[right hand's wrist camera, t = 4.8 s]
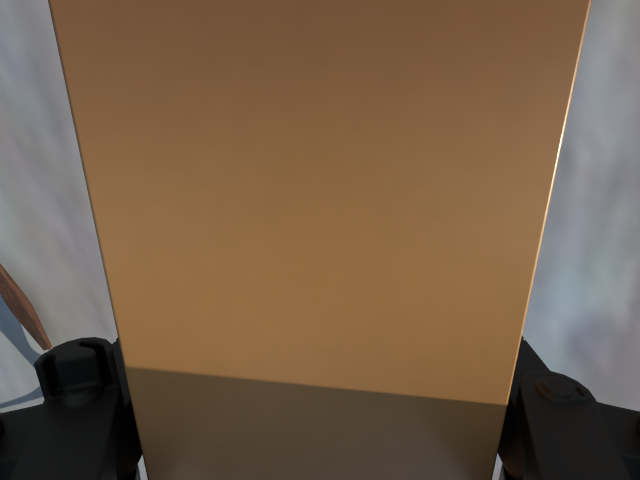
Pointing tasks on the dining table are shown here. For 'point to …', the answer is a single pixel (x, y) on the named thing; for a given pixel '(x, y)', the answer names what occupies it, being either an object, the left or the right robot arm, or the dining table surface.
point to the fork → (22, 309)
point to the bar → (319, 221)
